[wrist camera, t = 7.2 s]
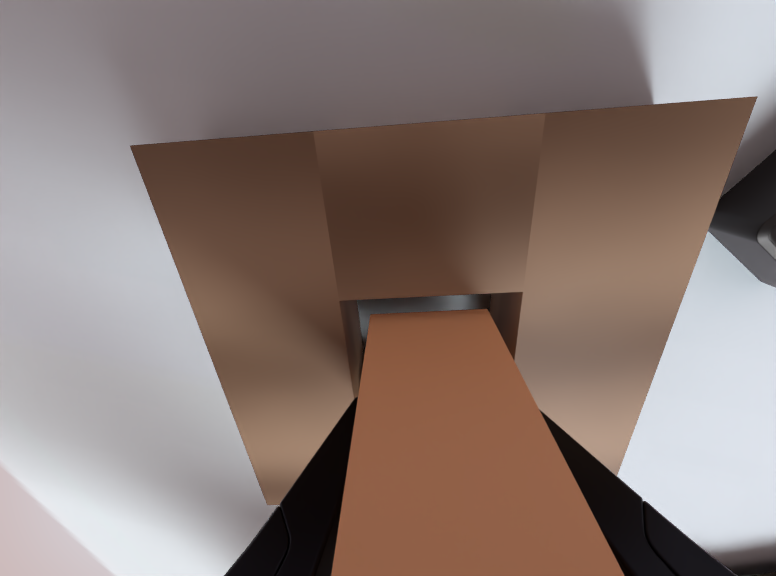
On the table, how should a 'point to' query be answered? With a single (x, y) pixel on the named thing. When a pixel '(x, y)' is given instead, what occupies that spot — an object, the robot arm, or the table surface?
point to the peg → (457, 462)
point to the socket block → (443, 255)
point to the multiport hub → (750, 221)
